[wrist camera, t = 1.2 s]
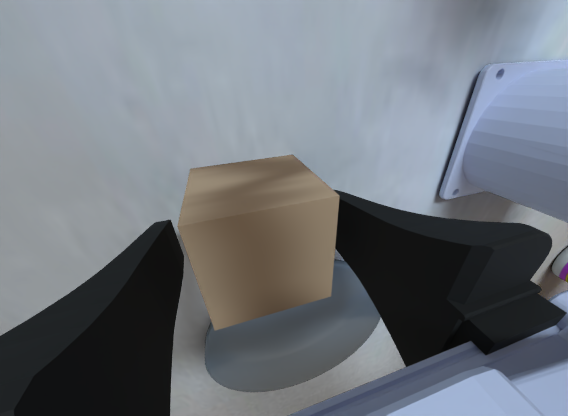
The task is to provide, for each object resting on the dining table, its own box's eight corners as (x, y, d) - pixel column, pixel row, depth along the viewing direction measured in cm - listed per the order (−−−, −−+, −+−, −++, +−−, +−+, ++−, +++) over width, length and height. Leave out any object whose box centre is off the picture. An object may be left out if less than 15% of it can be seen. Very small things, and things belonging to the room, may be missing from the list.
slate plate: (390, 239, 17) (400, 247, 16) (364, 347, 24) (369, 357, 23) (179, 292, 14) (177, 306, 13) (225, 398, 21) (225, 411, 20)
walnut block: (292, 154, 11) (339, 195, 7) (294, 232, 14) (331, 296, 10) (190, 168, 10) (177, 226, 6) (213, 250, 13) (214, 330, 9)
